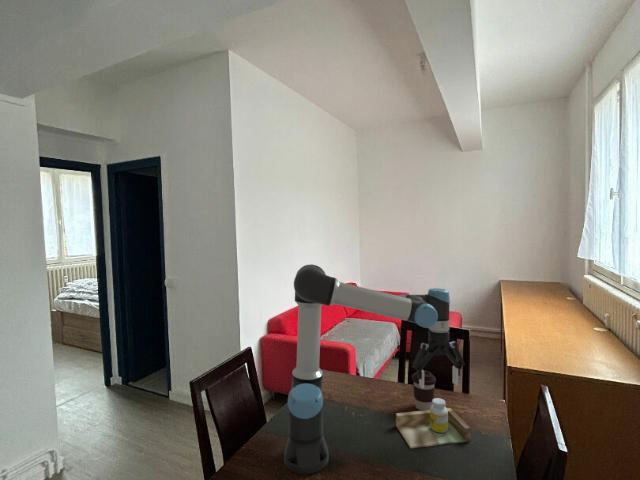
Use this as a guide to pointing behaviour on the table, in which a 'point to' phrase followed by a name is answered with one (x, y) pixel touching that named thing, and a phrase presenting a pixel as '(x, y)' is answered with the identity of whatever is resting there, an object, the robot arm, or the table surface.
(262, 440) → the table surface
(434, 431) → the pill bottle
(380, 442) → the table surface
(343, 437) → the table surface
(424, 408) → the coffee cup
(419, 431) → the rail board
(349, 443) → the table surface
